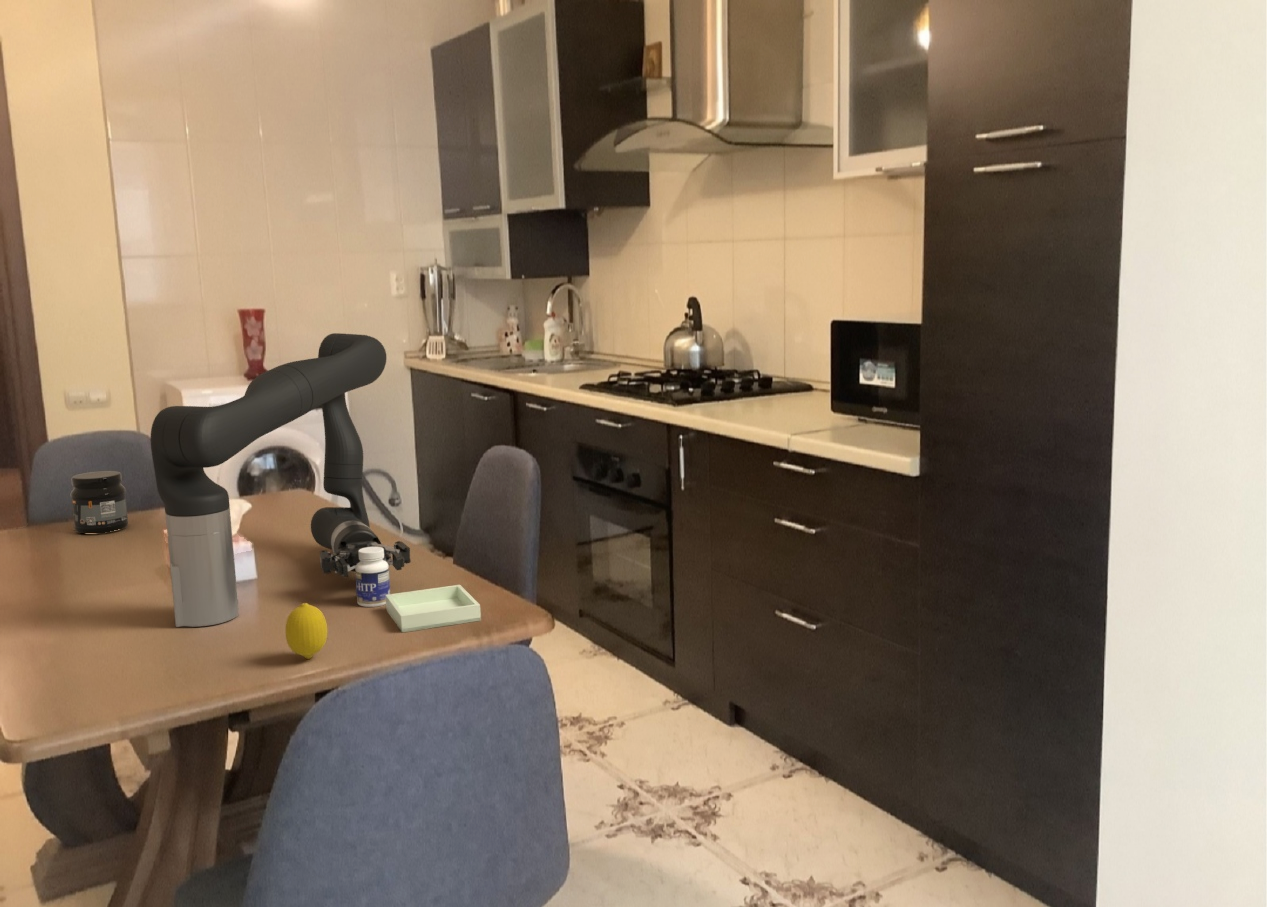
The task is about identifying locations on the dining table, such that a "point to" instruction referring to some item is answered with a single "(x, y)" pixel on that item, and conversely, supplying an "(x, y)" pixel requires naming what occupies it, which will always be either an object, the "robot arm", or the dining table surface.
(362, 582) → the pill bottle
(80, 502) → the supplement container
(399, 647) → the dining table surface
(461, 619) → the tray
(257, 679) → the dining table surface
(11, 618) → the dining table surface
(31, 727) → the dining table surface
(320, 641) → the lemon
